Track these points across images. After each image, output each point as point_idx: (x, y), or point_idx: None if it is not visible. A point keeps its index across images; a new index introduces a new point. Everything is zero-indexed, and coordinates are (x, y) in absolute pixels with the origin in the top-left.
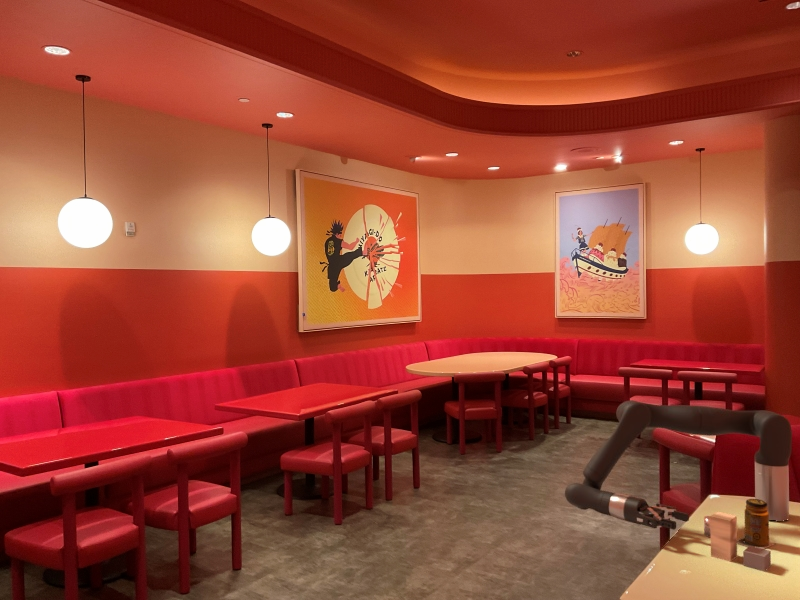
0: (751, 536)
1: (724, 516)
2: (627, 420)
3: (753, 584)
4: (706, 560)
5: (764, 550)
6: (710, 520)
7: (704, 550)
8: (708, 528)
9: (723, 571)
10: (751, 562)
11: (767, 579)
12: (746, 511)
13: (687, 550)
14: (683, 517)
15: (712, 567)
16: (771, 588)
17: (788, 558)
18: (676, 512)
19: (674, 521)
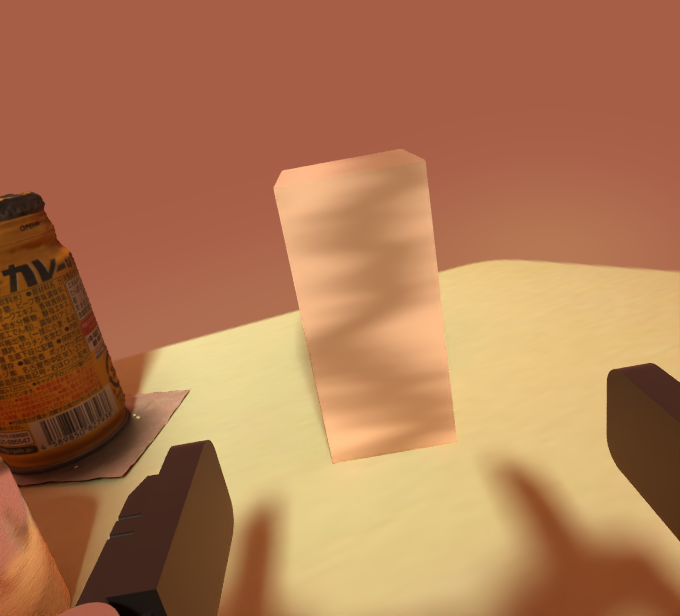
0: (107, 387)
1: (347, 165)
2: None
3: (555, 288)
4: (542, 425)
5: None
6: (428, 196)
7: (396, 502)
8: (31, 567)
9: (572, 348)
10: None
11: (467, 294)
12: (21, 271)
13: (522, 564)
14: (212, 524)
15: (591, 377)
16: (522, 273)
17: (212, 340)
18: (172, 573)
19: (630, 367)
